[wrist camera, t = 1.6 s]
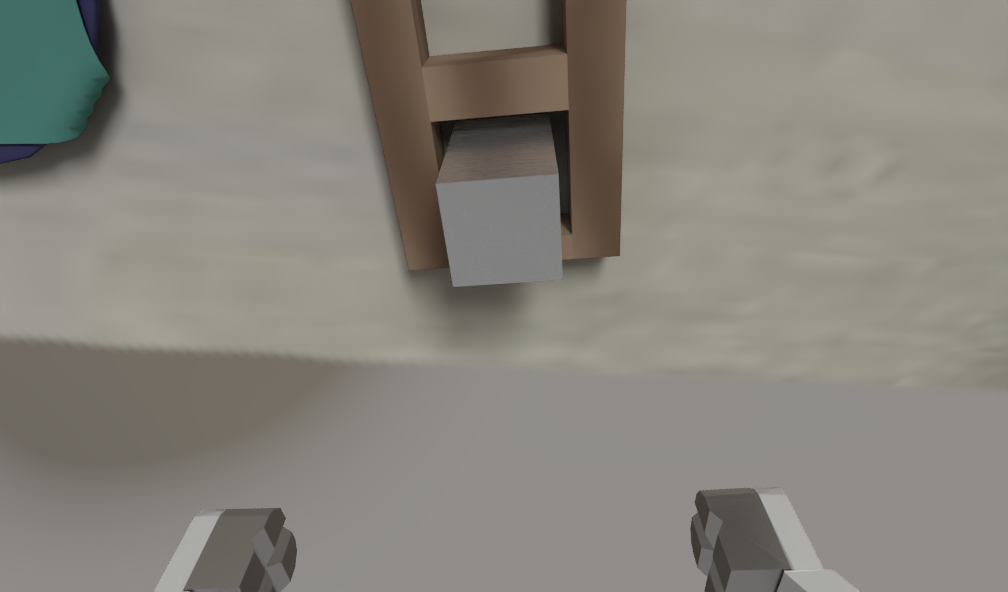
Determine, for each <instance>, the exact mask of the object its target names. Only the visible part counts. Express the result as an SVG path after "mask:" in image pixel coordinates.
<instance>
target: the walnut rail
mask: <svg viewBox="0 0 1008 592" xmlns="http://www.w3.org/2000/svg"><path fill="white" fill-rule="evenodd" d="M351 4H352V8H353V13H354V18H355V22H356V27H357V31H358V36H359V41H360V45H361V50H362V54H363V59H364V64H365V68H366V73H367V78H368V82H369V87H370V91H371V96H372V101H373V105H374V110H375V115H376V119H377V124H378V128H379V133H380V138H381V142H382V147H383V151H384V156H385V161H386V165H387V170H388V175H389V179H390V184H391V188H392V193H393V198H394V202H395V207H396V212H397V216H398V221H399V225H400V230H401V235H402V239H403V244H404V248H405V253H406V258H407V262H408V267H409V270H422V269H437V268H450V266H449V260H448V254H447V248H446V242H445V237H444V231H443V225H442V219H441V213H440V207H439V201H438V195H437V189H436V181H437V178H438V175H439V172H440V169H441V166H442V163H443V160H444V157H445V154H444V148H443V141H442V135H441V128H440V122H439V121H447V120H458V119H470V118H481V117H493V116H504V115H516V114H527V113H539V112H550V111H561V110H565V116H566V148H567V181H568V213H569V214H560V222H561V247H562V260H568V259H582V258H597V257H612V256H620V228H621V189H622V149H623V110H624V71H625V32H626V0H562V20H563V44H557V45H546V46H536V47H525V48H515V49H504V50H494V51H483V52H473V53H463V54H452V55H442V56H431V57H429V51H428V44H427V38H426V31H425V25H424V19H423V12H422V6H421V0H351Z"/></svg>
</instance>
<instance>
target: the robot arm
mask: <svg viewBox="0 0 1008 592" xmlns="http://www.w3.org/2000/svg"><path fill="white" fill-rule="evenodd" d="M695 505H696V508H697V511H698V513H697V514H695V515H694V516H693V517H692V521H691V528H690V529H691V544H692V549H693V553H694V557H695V561H696V564H697V567H698V568H699V569H700V570H701V571H702V572H703V573H704V574H705V575H706V576H707V582H706V587H705V592H860V591H859V590H858V589H857V588H855V587H854V586H853V585H852V584H850V583H849V582H848V581H847V580H846V579H844V578H843V577H842V576H841V575H839V574H838V573H837V572H836V571H834V570H833V569H824V568H823V566H822V564H821V562H820V560H819V558H818V556H817V554H816V552H815V550H814V548H813V546H812V544H811V542H810V540H809V538H808V536H807V534H806V532H805V531H804V528H803V526H802V524H801V522H800V521H799V519H798V517H797V515H796V513H795V511H794V509H793V507H792V505H791V503H790V501H789V499H788V497H787V495H786V493H785V492H784V491H783V490H782V489H781V488H778V487H771V488H754V489H751V488H737V489H719V490H702V491H699V492H698V493H697V494H696V500H695ZM285 519H286V518H285V516H284V514H283V512H282V510H281V508H262V509H216V510H201V511H200V512H199V513H198V514H197V515H196V516H195V517H194V518H193V520H192V522H191V523H190V525H189V527H188V529H187V531H186V533H185V535H184V537H183V538H182V540H181V542H180V544H179V545H178V547H177V549H176V551H175V553H174V555H173V557H172V558H171V560H170V562H169V564H168V566H167V568H166V569H165V571H164V573H163V575H162V577H161V579H160V581H159V582H158V584H157V586H156V588H155V590H154V591H153V592H280V591H281V590H282V589H283V588H284V587H285V586H286V585H287V584H288V583H289V582H290V581H291V578H292V575H293V572H294V569H295V563H296V554H297V548H296V541H295V538H294V536H293V533H292V532H291V531H289V530H288V529H286V528H284V527H283V525H284V522H285Z"/></svg>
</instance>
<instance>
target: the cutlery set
mask: <svg viewBox="0 0 1008 592" xmlns="http://www.w3.org/2000/svg"><path fill="white" fill-rule="evenodd" d="M99 7H100V4H99V0H0V164H1V163H6V162H10V161H15V160H20V159H24V158H29V157H31V156H32V155H34V154H35V153H36V152H37V151H39V150H40V149H41V148H43V147H44V146H45V145H47V144H48V143H59V142H64V141H68V140H71V139H75V138H78V136H79V135H80V134H81V133H82V132H83V130H84V129H85V128H86V127H87V119H88V118H89V116H90V115H91V114H92V113H93V111H94V104H95V103H96V101H97V100H98V99H99V98H100V97H101V95H102V88H103V87H104V86H105V85H106V83H107V82H108V81H109V80H110V78H109V76H108V74H107V72H106V71H105V69H104V68H103V66H102V64H101V63H100V61H99V59H98V58H97V55H98V31H99Z"/></svg>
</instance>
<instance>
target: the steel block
mask: <svg viewBox="0 0 1008 592" xmlns="http://www.w3.org/2000/svg"><path fill="white" fill-rule="evenodd" d="M436 189H437V195H438V201H439V207H440V213H441V219H442V225H443V231H444V237H445V242H446V248H447V254H448V260H449V266H450V272H451V278H452V284H453V287H460V286H475V285H491V284H506V283H521V282H536V281H551V280H563V271H562V247H561V222H560V197H559V173H558V167H557V161H556V155H555V149H554V142H553V136H552V130H551V124H550V117H549V114H540V115H529V116H517V117H506V118H494V119H483V120H471V121H460V122H456V123H455V126H454V129H453V132H452V135H451V138H450V141H449V144H448V147H447V150H446V154H445V157H444V160H443V163H442V166H441V169H440V172H439V175H438V178H437V181H436Z"/></svg>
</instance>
